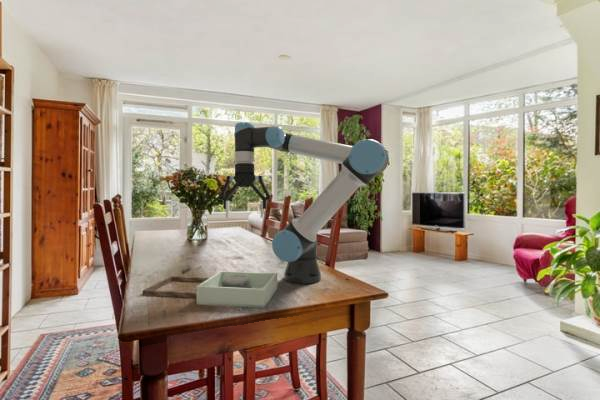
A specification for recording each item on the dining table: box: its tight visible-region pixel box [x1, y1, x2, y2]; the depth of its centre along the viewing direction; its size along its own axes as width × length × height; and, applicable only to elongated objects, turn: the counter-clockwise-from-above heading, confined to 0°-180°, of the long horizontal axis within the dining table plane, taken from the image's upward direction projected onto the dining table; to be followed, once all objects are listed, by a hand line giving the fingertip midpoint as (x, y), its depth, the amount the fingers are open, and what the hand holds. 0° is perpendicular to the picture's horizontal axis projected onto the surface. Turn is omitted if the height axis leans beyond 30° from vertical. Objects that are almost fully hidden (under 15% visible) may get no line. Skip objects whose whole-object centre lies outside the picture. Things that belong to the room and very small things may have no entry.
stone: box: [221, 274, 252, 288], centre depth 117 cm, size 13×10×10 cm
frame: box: [142, 275, 210, 299], centre depth 128 cm, size 22×20×2 cm
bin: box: [196, 270, 278, 309], centre depth 119 cm, size 22×21×6 cm
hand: (244, 217), depth 135 cm, fingers open, 13 cm apart
